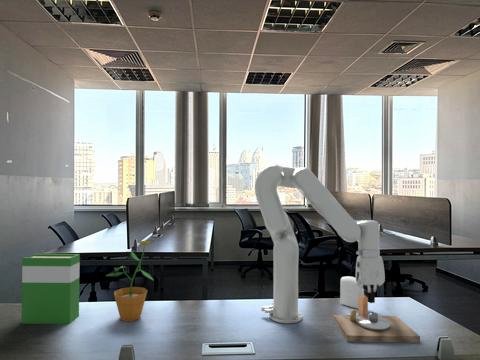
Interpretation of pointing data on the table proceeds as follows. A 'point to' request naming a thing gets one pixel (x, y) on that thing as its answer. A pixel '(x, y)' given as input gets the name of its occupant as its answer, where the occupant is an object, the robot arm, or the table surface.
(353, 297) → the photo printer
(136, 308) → the potted plant
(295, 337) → the table surface
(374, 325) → the flange plate
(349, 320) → the walnut board
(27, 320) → the hardback book
